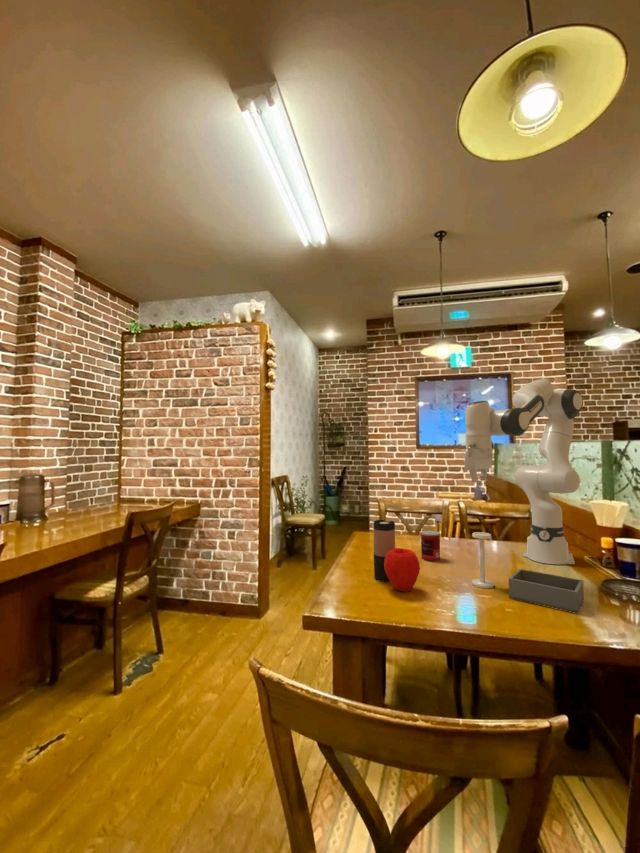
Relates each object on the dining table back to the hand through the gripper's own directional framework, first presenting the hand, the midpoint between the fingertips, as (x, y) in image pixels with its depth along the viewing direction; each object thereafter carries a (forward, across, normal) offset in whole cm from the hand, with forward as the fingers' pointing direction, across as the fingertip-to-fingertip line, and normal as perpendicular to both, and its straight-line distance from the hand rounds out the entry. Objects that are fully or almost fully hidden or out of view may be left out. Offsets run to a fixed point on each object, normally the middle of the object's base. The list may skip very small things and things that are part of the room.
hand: (479, 481), depth 146 cm
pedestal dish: (+34, -10, -4) cm, 36 cm away
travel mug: (+34, -26, +25) cm, 50 cm away
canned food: (+34, +8, +23) cm, 42 cm away
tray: (+34, -10, -23) cm, 42 cm away
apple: (+34, -32, +15) cm, 49 cm away
